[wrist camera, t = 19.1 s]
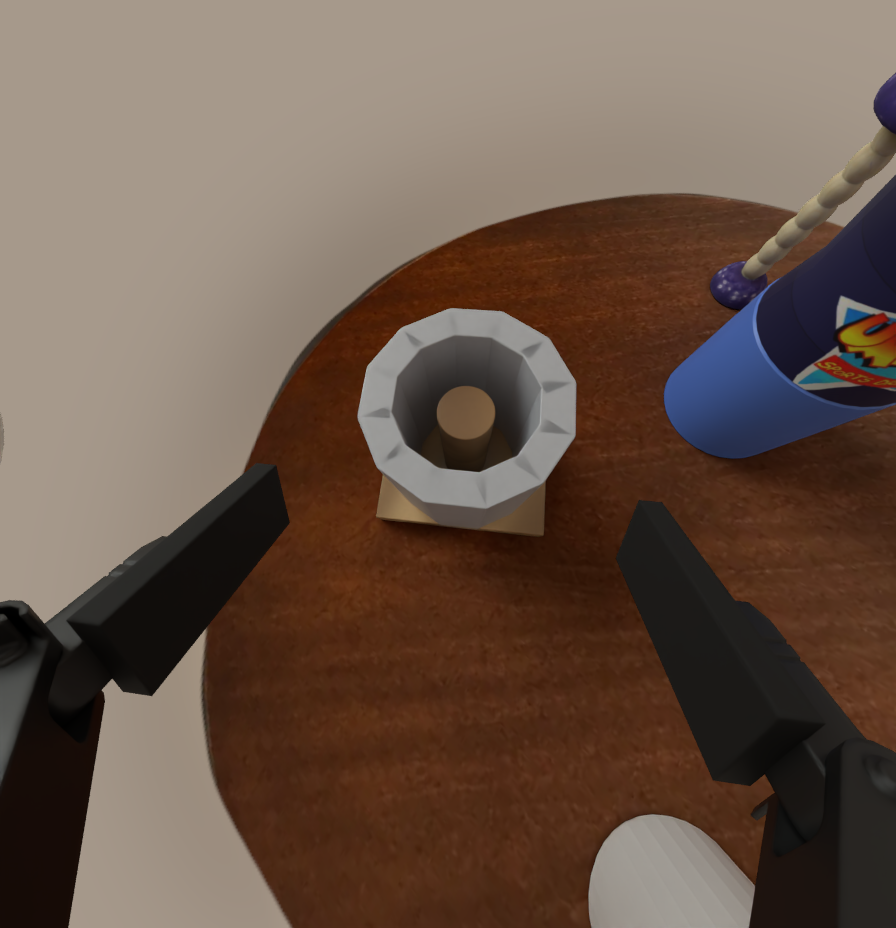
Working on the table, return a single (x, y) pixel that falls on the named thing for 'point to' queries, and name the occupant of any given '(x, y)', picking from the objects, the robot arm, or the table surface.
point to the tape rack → (466, 461)
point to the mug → (666, 879)
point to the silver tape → (482, 366)
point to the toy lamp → (812, 209)
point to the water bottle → (799, 348)
